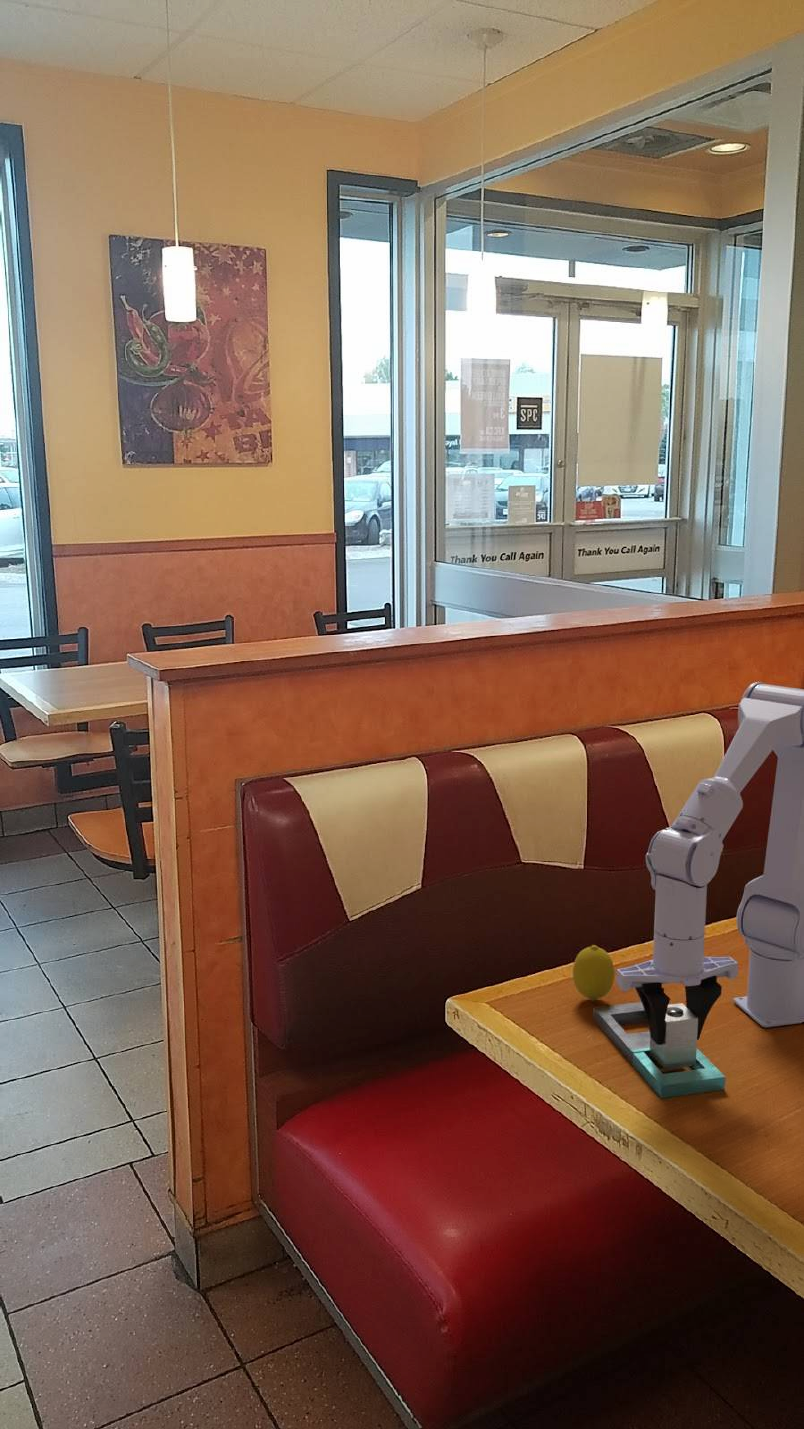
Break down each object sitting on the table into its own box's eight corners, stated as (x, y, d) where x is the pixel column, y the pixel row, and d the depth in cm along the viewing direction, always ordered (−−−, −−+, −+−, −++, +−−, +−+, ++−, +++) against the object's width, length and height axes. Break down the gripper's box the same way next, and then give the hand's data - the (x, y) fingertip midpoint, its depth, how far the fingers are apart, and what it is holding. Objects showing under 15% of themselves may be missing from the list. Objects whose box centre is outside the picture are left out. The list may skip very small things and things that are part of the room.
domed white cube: (680, 1048, 137) (682, 1001, 136) (695, 1065, 133) (698, 1016, 132) (649, 1052, 136) (651, 1005, 135) (664, 1069, 132) (666, 1020, 131)
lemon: (613, 1011, 150) (614, 955, 149) (571, 1008, 151) (572, 952, 150) (614, 993, 155) (615, 938, 154) (573, 990, 157) (574, 936, 155)
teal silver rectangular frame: (649, 1012, 150) (650, 1000, 150) (724, 1089, 131) (725, 1075, 130) (593, 1018, 148) (593, 1007, 148) (661, 1098, 129) (661, 1084, 129)
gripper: (635, 950, 126) (631, 1062, 128) (753, 937, 129) (747, 1047, 132) (610, 926, 132) (607, 1033, 135) (723, 915, 136) (717, 1019, 138)
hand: (674, 1038), depth 134 cm, fingers closed on domed white cube, 4 cm apart
